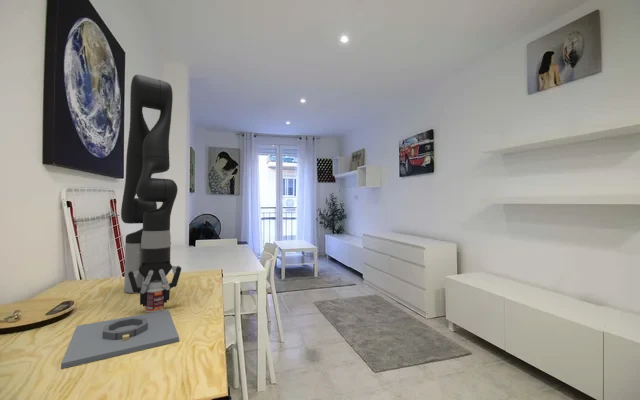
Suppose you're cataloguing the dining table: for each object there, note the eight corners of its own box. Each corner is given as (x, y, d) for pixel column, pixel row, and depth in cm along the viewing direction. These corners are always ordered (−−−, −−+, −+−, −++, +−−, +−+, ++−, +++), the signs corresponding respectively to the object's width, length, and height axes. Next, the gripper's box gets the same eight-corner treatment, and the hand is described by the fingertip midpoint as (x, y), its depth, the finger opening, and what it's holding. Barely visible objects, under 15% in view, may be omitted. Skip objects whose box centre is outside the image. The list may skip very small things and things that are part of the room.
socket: (76, 329, 70) (76, 319, 70) (168, 313, 81) (168, 304, 81) (60, 368, 53) (61, 355, 53) (178, 341, 64) (179, 330, 64)
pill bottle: (155, 313, 81) (156, 284, 81) (141, 312, 82) (142, 282, 82) (167, 307, 85) (168, 279, 85) (154, 306, 86) (154, 278, 86)
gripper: (180, 242, 91) (179, 296, 91) (126, 245, 83) (125, 304, 82) (184, 245, 85) (183, 303, 84) (126, 249, 77) (125, 312, 76)
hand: (154, 303), depth 83 cm, fingers closed on pill bottle, 4 cm apart
